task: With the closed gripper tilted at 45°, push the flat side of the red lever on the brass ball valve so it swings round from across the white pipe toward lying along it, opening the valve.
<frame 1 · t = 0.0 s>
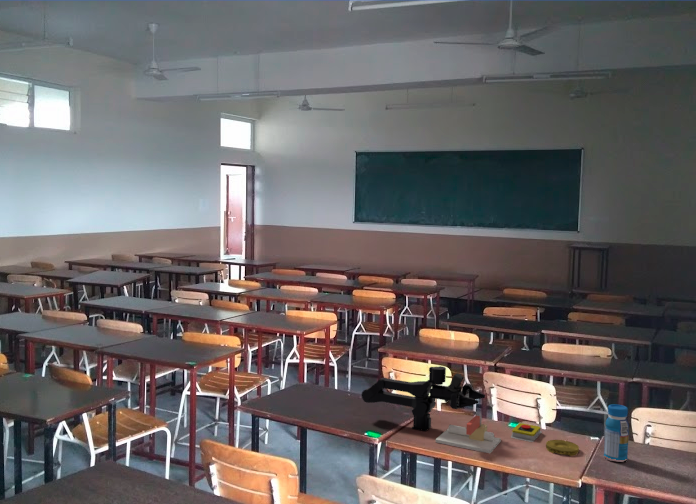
hand: (481, 399, 251), 17 cm above the table, tool horizontal, fingers open, 9 cm apart
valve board: (468, 441, 249), on the table
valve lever: (474, 424, 245), point 9 cm above the table, hinge at 0.0°
olive round disc: (562, 451, 243), on the table
emergency button: (526, 436, 259), on the table
beverage bottle: (615, 459, 234), on the table
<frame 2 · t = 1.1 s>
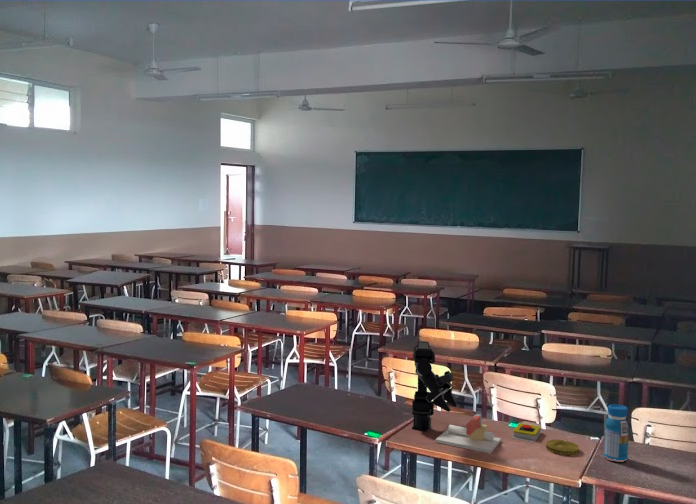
hand: (453, 408, 249), 13 cm above the table, tool tilted 45°, fingers open, 9 cm apart
nothing on the table moved.
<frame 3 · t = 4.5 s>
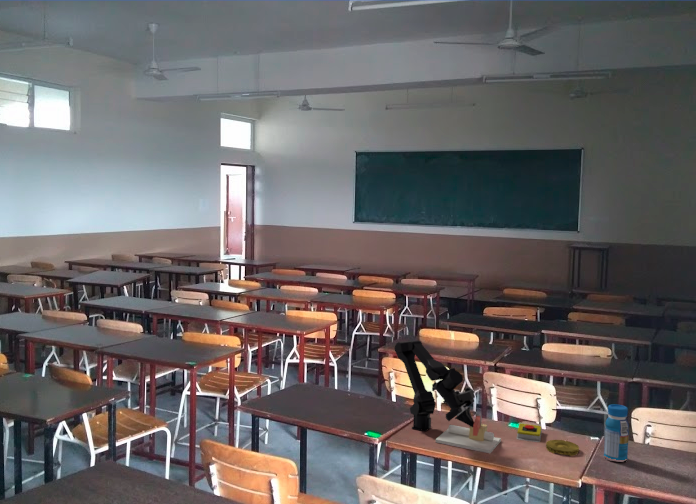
hand: (474, 426, 244), 8 cm above the table, tool tilted 45°, fingers closed, pressing on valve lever
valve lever: (477, 424, 244), point 9 cm above the table, hinge at 11.3°, touching gripper
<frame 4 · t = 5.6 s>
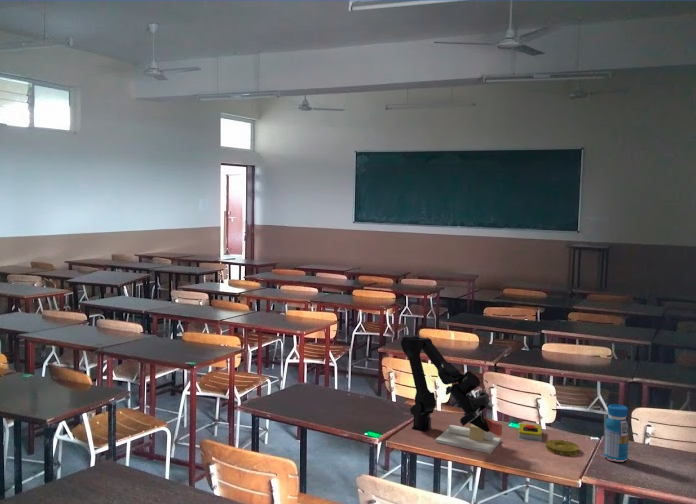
hand: (488, 431, 242), 7 cm above the table, tool tilted 45°, fingers closed
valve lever: (488, 424, 245), point 9 cm above the table, hinge at 54.9°, touching gripper
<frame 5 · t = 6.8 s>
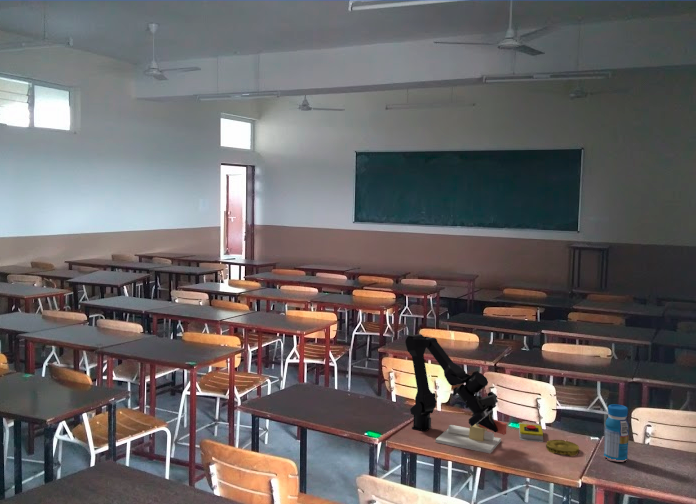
hand: (497, 431, 240), 7 cm above the table, tool tilted 45°, fingers closed
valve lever: (490, 424, 245), point 8 cm above the table, hinge at 66.6°, touching gripper
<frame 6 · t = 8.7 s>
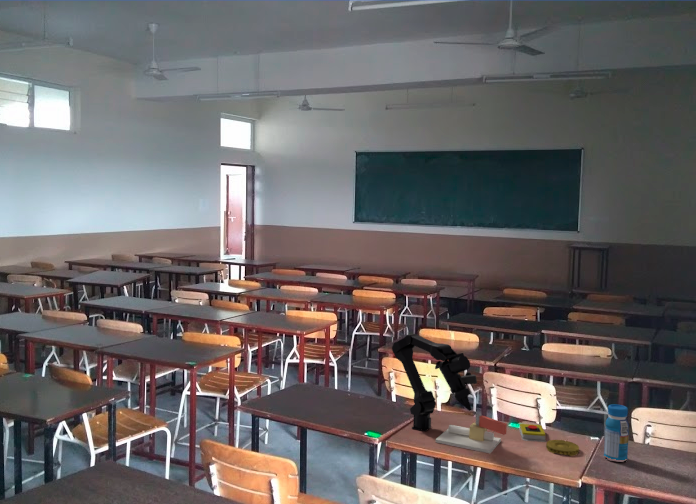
hand: (470, 410, 249), 13 cm above the table, tool tilted 30°, fingers closed
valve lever: (490, 424, 245), point 8 cm above the table, hinge at 66.8°
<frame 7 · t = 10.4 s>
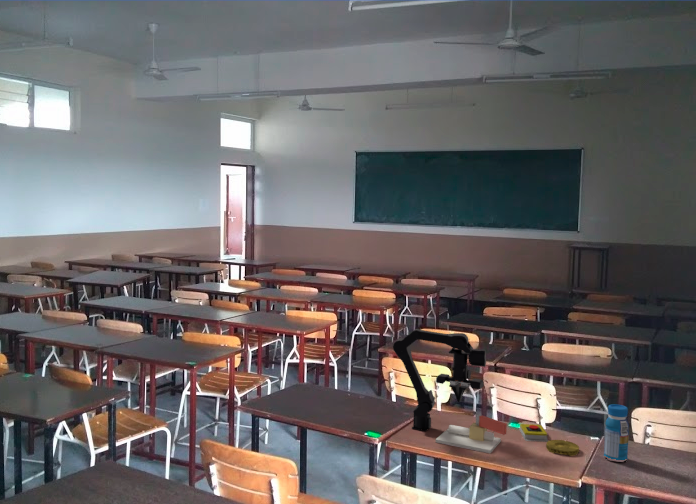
hand: (459, 401, 259), 13 cm above the table, tool pointing down, fingers closed
at the end: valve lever at +67° (first picture: +0°); emergency button moved 2.9 cm from its start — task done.
